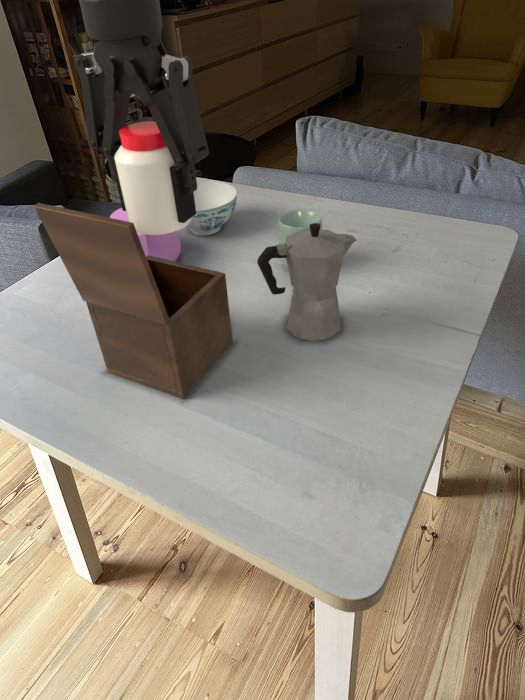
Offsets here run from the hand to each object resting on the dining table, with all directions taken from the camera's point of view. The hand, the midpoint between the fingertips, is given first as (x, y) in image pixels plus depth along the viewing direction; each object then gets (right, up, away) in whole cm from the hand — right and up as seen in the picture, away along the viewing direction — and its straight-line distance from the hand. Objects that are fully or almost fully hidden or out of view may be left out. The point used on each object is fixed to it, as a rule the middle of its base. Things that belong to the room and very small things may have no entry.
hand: (159, 212), depth 65 cm
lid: (-6, -6, 0) cm, 9 cm away
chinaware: (0, +10, +53) cm, 53 cm away
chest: (-2, -18, +18) cm, 26 cm away
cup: (+20, -1, +38) cm, 43 cm away
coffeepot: (+20, -13, +23) cm, 33 cm away
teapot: (-11, +1, +43) cm, 44 cm away
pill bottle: (0, -1, +1) cm, 1 cm away
